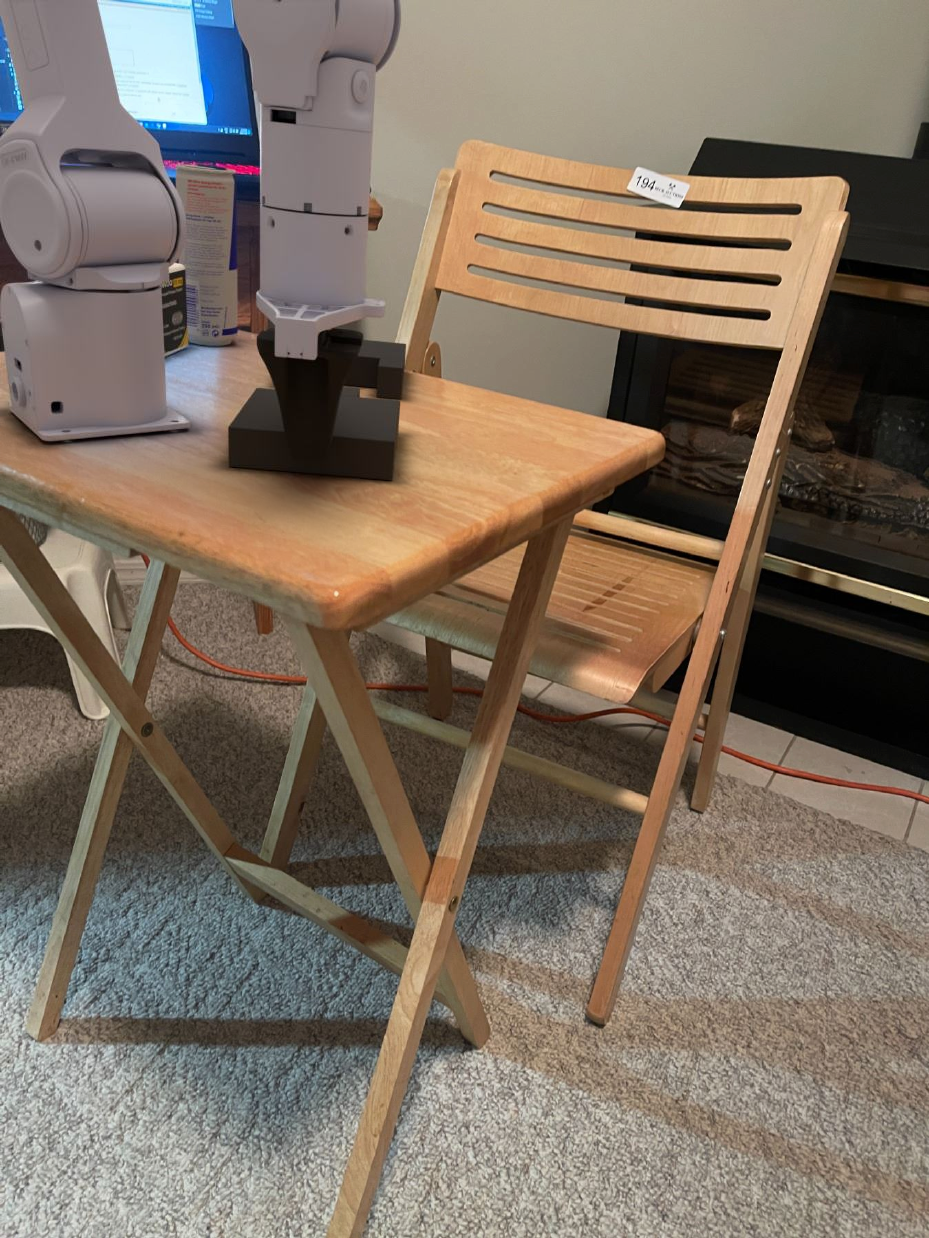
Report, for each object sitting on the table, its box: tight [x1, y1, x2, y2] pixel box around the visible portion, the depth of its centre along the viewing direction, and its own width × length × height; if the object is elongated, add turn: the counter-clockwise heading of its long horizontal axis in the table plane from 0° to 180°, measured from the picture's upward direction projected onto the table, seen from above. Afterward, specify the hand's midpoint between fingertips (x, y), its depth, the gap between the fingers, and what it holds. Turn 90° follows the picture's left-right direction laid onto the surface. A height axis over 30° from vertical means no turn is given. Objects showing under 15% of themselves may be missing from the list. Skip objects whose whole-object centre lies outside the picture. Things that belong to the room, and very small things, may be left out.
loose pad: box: [227, 386, 401, 481], centre depth 62 cm, size 12×10×2 cm
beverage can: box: [175, 163, 239, 347], centre depth 85 cm, size 5×5×15 cm
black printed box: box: [160, 262, 189, 358], centre depth 79 cm, size 7×7×12 cm
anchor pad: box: [343, 339, 407, 400], centre depth 79 cm, size 10×10×2 cm
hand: (308, 456), depth 56 cm, fingers closed
